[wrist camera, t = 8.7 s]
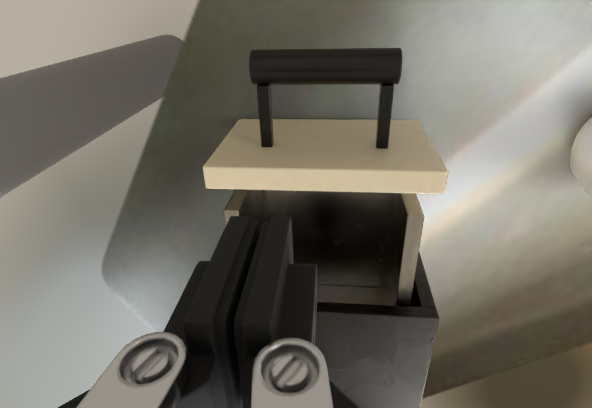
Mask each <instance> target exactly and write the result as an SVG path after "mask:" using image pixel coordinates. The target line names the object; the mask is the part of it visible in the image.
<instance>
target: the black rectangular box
mask: <svg viewBox="0 0 592 408" xmlns="http://www.w3.org/2000/svg"><path fill="white" fill-rule="evenodd" d="M438 321H439V316H438V313H437V310H436V307H435V303H434V300H433V297H432V293H431V290H430V287H429V283H428V280H427V277H426V273H425V270H424V267H423V263H422V260H421V257H420V253H418V259H417V265H416V272H415V278H414V284H413V290H412V297H411V303H410V306H391V305H371V304H352V303H332V302H317V314H316V334H315V346H316V347H317V348H318V349H319V350H320V351H321V353H322V354H323V356H324V358H325V361H326V365H327V371H328V377H329V380H330V381H331V382H332V383H333V384H334V385H335V386H336V387H337V388H338V389H339V390H340V391H342V392H343V393H344V394H345V395H346V396H347V397H348V398H349V399H350V400H351V401H352V402H353V403H354V404H355V405H356V406H357V407H359V408H420V406H421V401H422V397H423V392H424V387H425V383H426V378H427V373H428V368H429V364H430V359H431V354H432V350H433V345H434V340H435V335H436V331H437V326H438Z"/></svg>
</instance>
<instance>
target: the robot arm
mask: <svg viewBox="0 0 592 408" xmlns="http://www.w3.org/2000/svg"><path fill="white" fill-rule="evenodd" d="M316 314H317V264H293V240H292V220H291V217H271V219H270V222H263V225H262V228H261V231H260V228H259V222H256V221H252V217H251V216H231V217H230V218H229V221H228V223H227V225H226V227H225V229H224V232H223V234H222V236H221V238H220V240H219V243H218V245H217V247H216V249H215V251H214V254H213V256H212V258H211V260H210V261H200V262H199V263H198V264H197V266H196V267H195V269H194V271H193V273H192V275H191V277H190V279H189V281H188V283H187V286H186V288H185V290H184V292H183V294H182V296H181V298H180V300H179V302H178V304H177V306H176V308H175V310H174V312H173V314H172V316H171V318H170V320H169V322H168V324H167V326H166V328H165V330H164V332H155V333H150V334H146V335H144V336H141V337H139V338H136V339H135V340H133V341H132V342H130V343H129V344H127V345H126V346H125V347H124V348H123V349H122V350H121V351H120V352H119V353H118V355H117V356H116V357H115V358H114V359H113V361H112V362H111V363H110V365H109V366H108V367H107V369H106V370H105V371H104V372H103V374H102V375H101V376H100V378H99V379H98V380H97V381H96V383H95V384H94V385H93V387H92V388H91V389H90V390H88V391H86V392H85V393H83V394H81V395H79V396H78V397H76V398H74V399H72V400H70V401H69V402H67V403H65V404H63V405H62V406H60V407H58V408H359V407H357V406H356V405H355V404H354V403H353V402H352V401H351V400H350V399H349V398H348V397H347V396H346V395H345V394H344V393H343V392H342V391H340V390H339V389H338V388H337V387H336V386H335V385H334V384H333V383H332V382H331V381H330V380H329V377H328V371H327V365H326V361H325V358H324V356H323V354H322V353H321V351H320V350H319V349H318V348H317V347H316V346H315V334H316Z"/></svg>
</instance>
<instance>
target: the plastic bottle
mask: <svg viewBox="0 0 592 408" xmlns="http://www.w3.org/2000/svg"><path fill="white" fill-rule="evenodd" d="M570 166H571V169H572V172H573V175H574V176H575V178H576V179H577V180H578V182H579V183H580V184H581V186H582V187H583V188H584V190H585V191H586V192H587V193H588V194H589V195H590V196H592V117H591V118H590V119H589V120H588V121H587V122H586V123H585V124H584V125H583V127H582V128H581V129H580V131H579V132H578V134H577V136H576V138H575V141H574V143H573V146H572V149H571V155H570Z"/></svg>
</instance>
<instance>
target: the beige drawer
mask: <svg viewBox="0 0 592 408" xmlns="http://www.w3.org/2000/svg"><path fill="white" fill-rule="evenodd" d="M249 70H250V78H251V81H252V83H253V84H254V85H258V86H257V94H258V107H259V119H239V120H238V121H237V123H236V124H235V125H234V127H233V128H232V129H231V131H230V132H229V133H228V134H227V136H226V137H225V138H224V140H223V141H222V142H221V144H220V145H219V146H218V148H217V149H216V150H215V151H214V153H213V154H212V155H211V157H210V158H209V159H208V161H207V162H206V163H205V164H204V166H203V174H204V180H205V187H206V188H207V189H235V190H234V192H233V194H232V196H231V198H230V200H229V202H228V204H227V206H226V208H225V210H224V216H225V223H226V225H227V223H228V221H229V218H230V217H231V216H251V217H252V221H256V222H259V228H260V231H261V228H262V225H263V222H270V219H271V217H291V220H292V240H293V264H317V302H332V303H352V304H371V305H391V306H410V303H411V297H412V290H413V284H414V278H415V272H416V265H417V259H418V253H419V246H420V240H421V234H422V227H423V221H424V215H423V212H422V209H421V207H420V204H419V201H418V198H417V196H416V193H420V194H444V192H445V187H446V182H447V176H448V170H447V168H446V167H445V165H444V163H443V162H442V160H441V158H440V157H439V155H438V153H437V151H436V150H435V148H434V146H433V145H432V143H431V141H430V140H429V138H428V136H427V134H426V133H425V131H424V129H423V128H422V126H421V124H420V123H419V121H418V120H391V112H392V102H393V91H394V85H393V84H398V83H399V81H400V77H401V71H402V50H401V48H355V49H278V50H252V51H251V53H250V58H249ZM313 84H380V93H379V106H378V119H377V120H327V119H272V101H271V85H313Z"/></svg>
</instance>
